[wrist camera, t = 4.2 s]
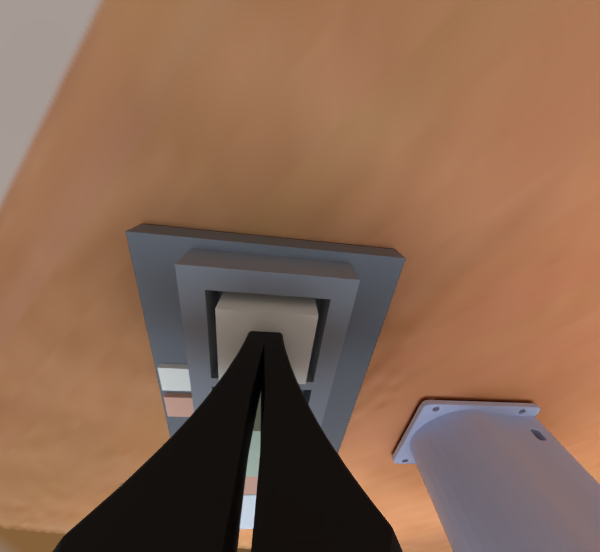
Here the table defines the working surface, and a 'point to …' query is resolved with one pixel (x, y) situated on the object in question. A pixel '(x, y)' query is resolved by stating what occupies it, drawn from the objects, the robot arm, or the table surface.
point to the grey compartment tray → (260, 280)
